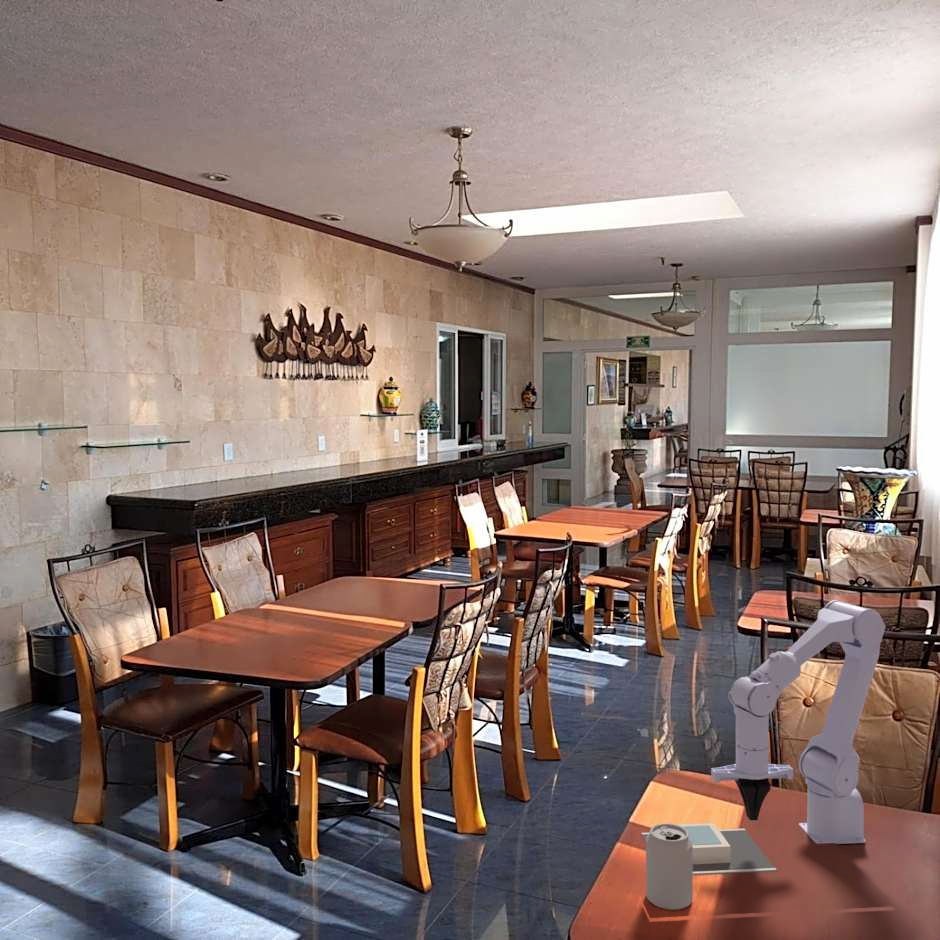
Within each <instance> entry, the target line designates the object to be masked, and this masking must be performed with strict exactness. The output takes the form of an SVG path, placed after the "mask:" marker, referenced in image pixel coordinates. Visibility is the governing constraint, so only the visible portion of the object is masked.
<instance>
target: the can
mask: <svg viewBox="0 0 940 940" xmlns="http://www.w3.org/2000/svg"><path fill="white" fill-rule="evenodd" d="M649 829H650V830H649V832H650V834H649V835H648V836H647V837H646V842H645V896H646V898H647V900H648V901H649V902H650V903H651V904H652V905H654V906H656V907H657V908H660V909H663V910H668V911H669V910H670V911H678V910H681V909H682V910H683V909H685V908H687V907H689V906H690V905H691V903H693V899H694V897H693V895H694V893H693V890H694V889H693V887H694V882H693V881H694V880H693V879H694V877H693V876H694V875H693V842H692V840H691V839H690V837H689V833H688V831H687V830H686V829H684V828H683V827H681V826H678V824H674V823H658V824H656V825H653V826H652V827H650V828H649Z"/></svg>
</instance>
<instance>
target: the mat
mask: <svg viewBox="0 0 940 940" xmlns="http://www.w3.org/2000/svg"><path fill="white" fill-rule="evenodd" d="M718 829H719V831H720V832H721V834H722V835H723V836H724V838H725V839H726V841H727V842H728V843H729V845H730V846H731V863H714V864H693V876H706V875H708V876H709V875H724V874H725V875H727V874H728V875H729V874H749V873H752V874H753V873H769V872H770V873H773V872H776V873H777V872H778V870H777V868H776V867H775V866H774V865H773V864H772V862H771V861H770V860H769V858H768V857H767V856H766V855H765V853H764V852H763V851H762V849H761V848H760V847H759V846H758V844H757V843H756V842H755V840H753V838H752V837H751V835H750V834H749V833H748V832H747V830H746V829H745V828H744V827H743V828H718ZM640 834H641V836H642V838H643V840H644V842H645V843H646V837H647V836H648V835H649V834H650V831H649V832H640Z"/></svg>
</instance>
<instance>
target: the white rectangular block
mask: <svg viewBox="0 0 940 940" xmlns="http://www.w3.org/2000/svg"><path fill="white" fill-rule="evenodd" d="M677 825H678V826H681V827H683V828H684V829H686V830H687V831H688V833H689V837H690V839H691V840H692V842H693V864H714V863H731V846H730V845H729V843H728V842H727V841H726V839H725V838H724V836H723V835H722V834H721V832H720V831H719V829H720V828H718V827H717V826H716V824H715V823H714V822H710V823H706V822H705V823H685V824H684V823H683V824H682V823H681V824H677Z"/></svg>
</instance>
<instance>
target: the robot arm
mask: <svg viewBox="0 0 940 940" xmlns="http://www.w3.org/2000/svg"><path fill="white" fill-rule="evenodd" d="M885 630H886V624H885V623H884V620H883V618H882V616H881V614H880V613H879V612H878V611H877V610H875V609H873V608H870V607H869V608H867V607H863V606H858V605H854V604H851V603H847V602H844V601H842V600H839V599H833V600H830V601H828V603H826V605H824V607H822V608H821V609H819V610H818V612H817V619H816V620H815V622H814V623H813V624H812V625H810V627H809V628H808V629H807V630H806V631H804V633H803V634H802V635H800V637H799V638H798V639H797V641H795V642H794V643H793V645H791V646H790V648H789V649H787V650H786V651H782V650H781V651H779V650H777V651H776V652H771V653H770V654H769V655H768V659H767V660H765V661H764V662H763V663H762V664H761V665H760V666H759V667H757V668H756V669H755V670H753V671H752V672H750V674H749V676H741V677H739V678H738V679H736V680H735V681H734V682H733V683H732V685H731V688H730V691H729V692H728V693H727V694H728V699H729V702H730V703H731V705H732V706H733V714H734V715H735V763H734V764H729V765H725V766H720V767H711V768H710V779H711V780H712V782H713V783H714V784H715V783H720V782H721V781H723V782H727V781H735V784H736V786H737V788H738V791H739V792H740V795H741V798H742V801H743V806H744V810H745V815H746V817H747V819H748V821H758V820H759V815H760V812H761V811H760V810H761V808H762V806H763V803H764V800H765V799H766V797H767V795H768V794H769V792H770V791H771V789H772V787H771V785H772V784H771V782H769V779H772V780H773V779H787V780H794V768H793V767H791V766H790V764H774V763H769V760H770V758H769V756H770V755H769V753H770V751H769V750H770V749H769V746H770V744H769V742H770V741H769V740H770V739H769V736H770V735H769V734H770V732H769V731H770V728H769V727H770V726H769V725H770V722H769V721H770V720H769V719H770V718H769V715H770V713H772V712H773V711H774V709H775V708H776V706H777V701H778V699H779V698H780V696H781V693H782V692H783V691H785V690H786V689H787V688H788V687H790V685H792V684H793V682H795V680H797V679H799V677H800V676H801V674H802V672H801V671H802V670H801V667H802V666H803V665H804V664H805V663H806V662H807V661H809V660H811V659H812V658H813V657H814V656H816V655H817V654H818V653H819V652H821V651H822V650H823V649H825V648H826V647H827V646H829V645H830V644H832V643H839V644H840V646H841V648H842V650H843V651H844V653H845V657H844V660H843V663H842V666H841V670H840V673H839V677H838V680H837V683H836V686H835V689H834V693H833V696H832V699H831V701H830V702H831V703H830V706H829V709H828V712H827V715H826V719H825V722H824V724H823V725H824V726H823V728H822V731H821V733H819V734H817V735H815V736H812V737H810V739H809V740H808V744H807V746H806V748H805V749H804V751H802V753H801V755H800V756H799V759H798V769H799V772H800V774H801V775H802V777H804V779H805V781H804V782H805V784H806V785H807V796H806V797H807V801H806V802H807V807H806V808H807V809H806V812H807V815H806V816H807V817H806V821H807V822H799V823H798V826H799V827H800V828H801V829H802V830H803V831H804V832H805V833H806V835H808V837H809V838H811V840H812V841H813V842H814V843H815V844H818V845H819V844H820V845H821V844H835V845H844V844H845V845H846V844H864V843H866V839H865V838H864V825H865V823H864V818H865V815H864V814H865V812H864V810H865V809H864V802H863V799H862V796H861V794H860V793H861V792H859V790H858V789H857V788H856V787H857V785H858V783H859V777H860V776H859V766H860V763H861V759H860V756H859V755H858V753H857V752H856V749H855V748H854V746H853V742H854V739H855V736H856V732H857V729H858V726H859V722H860V719H861V717H862V716H861V715H862V712H863V710H864V705H865V703H866V699H867V697H868V693H869V690H870V687H871V684H872V680H873V677H874V675H875V674H874V673H875V671H876V670H875V669H876V667H877V664H878V661H879V657H880V647H881V642H882V640H883V637H884V633H885Z"/></svg>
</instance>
